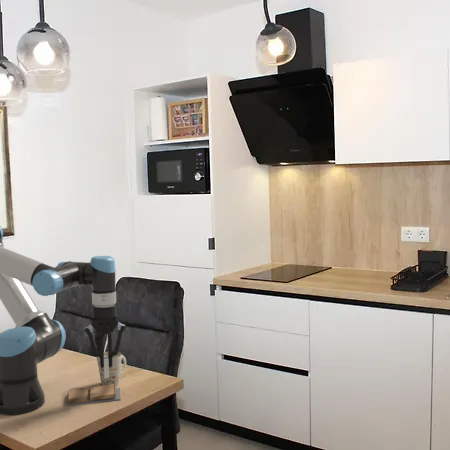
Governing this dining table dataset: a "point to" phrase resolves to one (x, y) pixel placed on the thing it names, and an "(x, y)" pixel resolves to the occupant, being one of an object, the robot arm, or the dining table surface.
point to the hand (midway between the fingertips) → (106, 376)
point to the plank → (103, 392)
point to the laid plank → (79, 395)
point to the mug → (112, 369)
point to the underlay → (101, 399)
